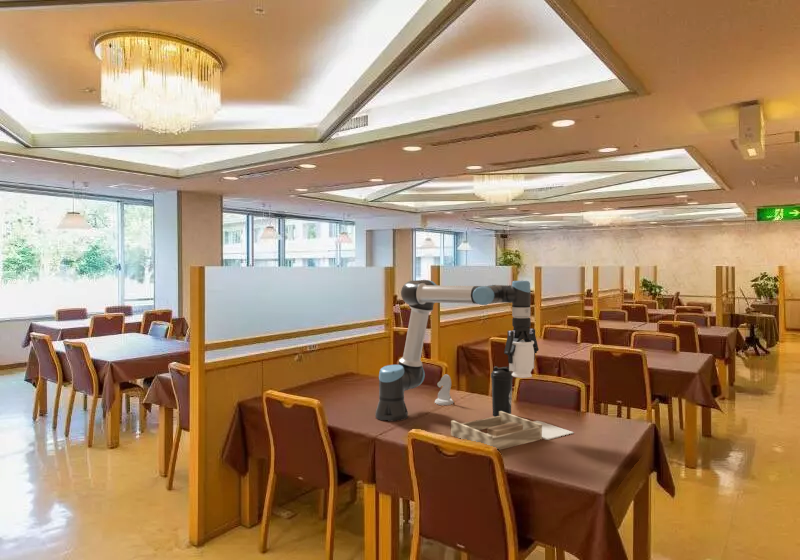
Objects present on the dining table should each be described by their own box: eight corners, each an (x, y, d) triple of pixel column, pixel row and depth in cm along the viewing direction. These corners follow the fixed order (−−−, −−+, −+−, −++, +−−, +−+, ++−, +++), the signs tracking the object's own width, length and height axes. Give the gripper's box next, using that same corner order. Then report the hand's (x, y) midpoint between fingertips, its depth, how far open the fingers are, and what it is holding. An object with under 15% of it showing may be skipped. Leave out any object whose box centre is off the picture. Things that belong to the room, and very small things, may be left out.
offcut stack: (482, 443, 209) (482, 428, 209) (514, 435, 220) (514, 421, 219) (493, 448, 204) (493, 432, 204) (525, 439, 215) (525, 424, 214)
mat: (512, 427, 230) (512, 426, 230) (537, 421, 238) (537, 420, 238) (547, 440, 213) (547, 438, 213) (573, 433, 221) (573, 432, 221)
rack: (450, 435, 219) (451, 420, 219) (500, 424, 234) (500, 410, 234) (490, 452, 199) (490, 436, 199) (541, 439, 214) (541, 424, 214)
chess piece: (441, 399, 278) (442, 371, 278) (457, 402, 272) (457, 373, 271) (430, 403, 270) (430, 374, 270) (446, 406, 264) (446, 376, 264)
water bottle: (512, 419, 242) (513, 369, 241) (490, 417, 244) (490, 368, 243) (512, 413, 252) (512, 365, 251) (491, 412, 254) (491, 364, 253)
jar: (506, 374, 227) (506, 339, 227) (529, 373, 228) (529, 339, 228) (513, 379, 217) (512, 342, 216) (537, 378, 217) (537, 342, 217)
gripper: (507, 319, 213) (507, 374, 213) (547, 316, 225) (547, 368, 225) (494, 318, 219) (495, 371, 220) (534, 315, 231) (534, 365, 231)
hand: (521, 369), depth 222 cm, fingers closed on jar, 10 cm apart
